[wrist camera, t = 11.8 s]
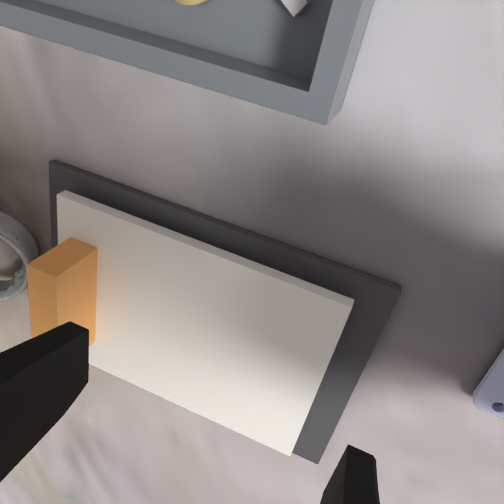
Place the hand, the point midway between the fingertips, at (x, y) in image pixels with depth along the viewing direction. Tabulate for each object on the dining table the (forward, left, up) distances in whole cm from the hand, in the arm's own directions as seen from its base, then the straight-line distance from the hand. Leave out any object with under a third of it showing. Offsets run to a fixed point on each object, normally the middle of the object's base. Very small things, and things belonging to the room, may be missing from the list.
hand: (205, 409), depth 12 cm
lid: (+4, +6, -8) cm, 11 cm away
